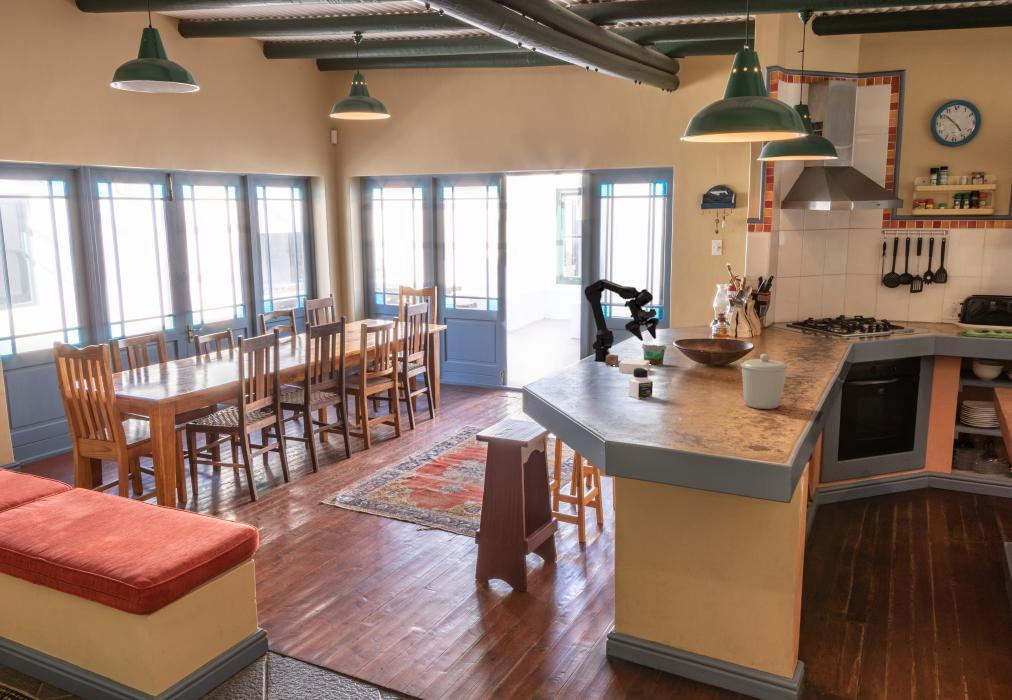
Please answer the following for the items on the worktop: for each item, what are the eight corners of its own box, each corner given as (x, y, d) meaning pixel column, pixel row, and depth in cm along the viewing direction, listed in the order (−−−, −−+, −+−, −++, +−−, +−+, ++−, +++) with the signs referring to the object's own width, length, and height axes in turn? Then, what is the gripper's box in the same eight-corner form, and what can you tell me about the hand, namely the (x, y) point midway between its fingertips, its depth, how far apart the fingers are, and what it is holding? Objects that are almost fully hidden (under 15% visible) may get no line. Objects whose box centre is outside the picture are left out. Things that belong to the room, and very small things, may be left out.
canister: (779, 414, 302) (783, 359, 298) (732, 408, 311) (735, 355, 308) (790, 404, 317) (794, 352, 313) (745, 399, 326) (748, 348, 323)
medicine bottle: (638, 399, 325) (639, 370, 323) (628, 396, 331) (628, 367, 329) (652, 397, 328) (653, 369, 326) (641, 394, 334) (642, 366, 332)
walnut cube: (605, 365, 396) (605, 356, 395) (608, 364, 401) (608, 354, 400) (615, 366, 394) (615, 356, 394) (618, 364, 399) (618, 355, 398)
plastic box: (618, 373, 379) (619, 363, 378) (624, 368, 390) (625, 358, 389) (643, 375, 375) (644, 364, 374) (649, 370, 386) (649, 360, 385)
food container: (638, 364, 400) (638, 344, 398) (642, 362, 405) (642, 343, 404) (662, 366, 394) (662, 346, 393) (665, 364, 400) (666, 344, 398)
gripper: (634, 304, 376) (646, 334, 372) (660, 301, 387) (672, 330, 383) (619, 315, 384) (631, 344, 380) (645, 312, 395) (657, 340, 391)
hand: (648, 339), depth 383 cm, fingers open, 9 cm apart
